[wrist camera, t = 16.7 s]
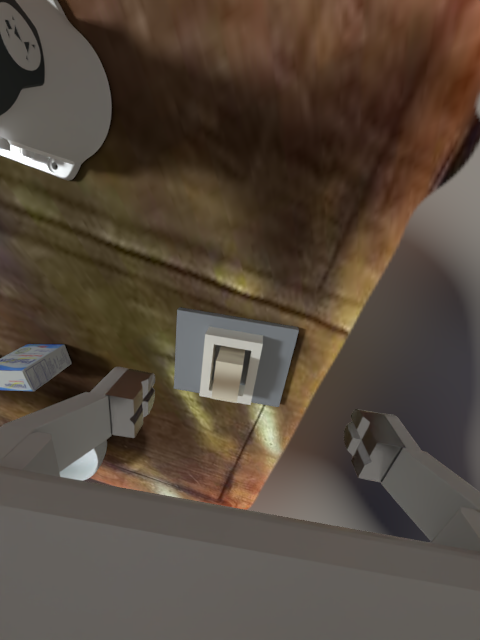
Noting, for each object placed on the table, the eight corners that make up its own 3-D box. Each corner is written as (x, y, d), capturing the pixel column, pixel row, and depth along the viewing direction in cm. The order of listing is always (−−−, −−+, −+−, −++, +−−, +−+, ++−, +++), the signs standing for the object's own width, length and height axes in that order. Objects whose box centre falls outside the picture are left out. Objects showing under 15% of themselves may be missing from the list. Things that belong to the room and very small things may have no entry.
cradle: (176, 384, 46) (168, 399, 42) (179, 307, 40) (170, 316, 36) (278, 402, 45) (279, 419, 41) (297, 327, 39) (301, 338, 35)
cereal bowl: (93, 463, 57) (71, 494, 51) (32, 422, 54) (0, 450, 47) (132, 429, 52) (113, 459, 45) (67, 381, 48) (36, 406, 42)
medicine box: (65, 343, 45) (22, 369, 37) (73, 363, 46) (33, 392, 38) (28, 343, 45) (-23, 368, 37) (36, 363, 47) (-10, 391, 39)
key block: (222, 342, 40) (216, 360, 34) (245, 345, 40) (243, 365, 34) (218, 376, 43) (211, 398, 37) (240, 379, 43) (236, 403, 37)
